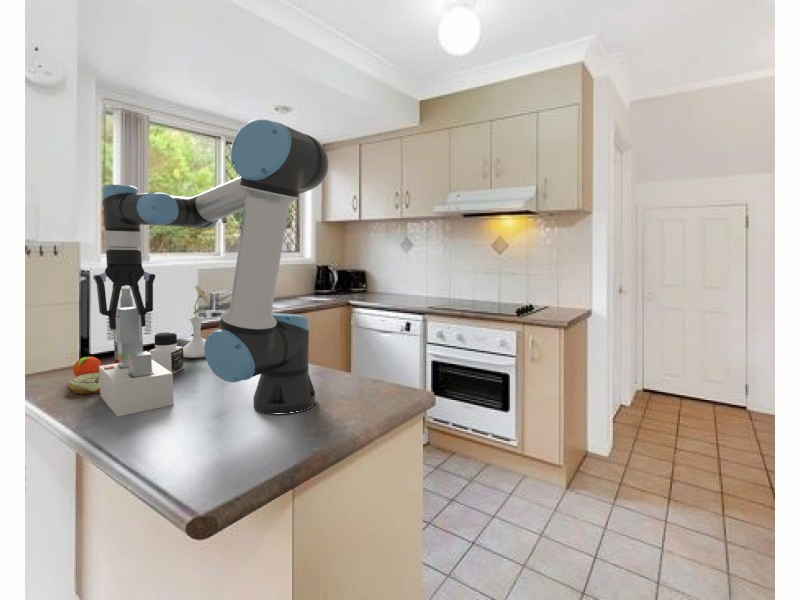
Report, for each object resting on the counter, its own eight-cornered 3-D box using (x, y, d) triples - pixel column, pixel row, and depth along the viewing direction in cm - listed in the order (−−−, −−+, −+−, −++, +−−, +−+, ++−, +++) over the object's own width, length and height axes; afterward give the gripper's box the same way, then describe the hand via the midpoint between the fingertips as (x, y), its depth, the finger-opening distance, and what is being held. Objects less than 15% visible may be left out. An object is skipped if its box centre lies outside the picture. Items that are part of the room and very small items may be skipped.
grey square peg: (153, 406, 109) (151, 354, 107) (134, 410, 106) (132, 356, 104) (148, 401, 112) (146, 351, 110) (130, 405, 109) (127, 353, 107)
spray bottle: (125, 369, 138) (121, 289, 135) (110, 366, 142) (105, 288, 139) (148, 364, 145) (145, 287, 142) (133, 361, 149) (130, 286, 146)
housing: (152, 387, 123) (150, 357, 122) (173, 404, 110) (172, 371, 109) (100, 396, 115) (98, 364, 114) (117, 416, 102) (115, 381, 101)
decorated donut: (96, 397, 115) (96, 383, 114) (59, 394, 116) (58, 380, 115) (126, 384, 125) (125, 371, 124) (91, 382, 126) (90, 369, 126)
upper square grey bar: (141, 375, 115) (137, 308, 113) (123, 378, 112) (119, 309, 110) (136, 372, 118) (133, 306, 116) (119, 374, 115) (115, 307, 113)
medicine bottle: (172, 374, 135) (170, 335, 133) (149, 373, 135) (147, 334, 133) (184, 368, 142) (182, 331, 140) (162, 367, 142) (160, 330, 141)
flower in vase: (212, 359, 153) (210, 287, 150) (176, 361, 150) (173, 287, 147) (217, 351, 165) (216, 283, 162) (184, 352, 162) (181, 283, 159)
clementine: (91, 385, 123) (90, 360, 122) (65, 385, 123) (63, 360, 122) (108, 377, 131) (107, 353, 130) (83, 376, 130) (82, 353, 130)
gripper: (156, 249, 120) (160, 334, 123) (79, 248, 108) (85, 342, 111) (165, 249, 115) (169, 338, 117) (85, 248, 103) (91, 347, 106)
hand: (128, 340), depth 114 cm, fingers closed on upper square grey bar, 4 cm apart
